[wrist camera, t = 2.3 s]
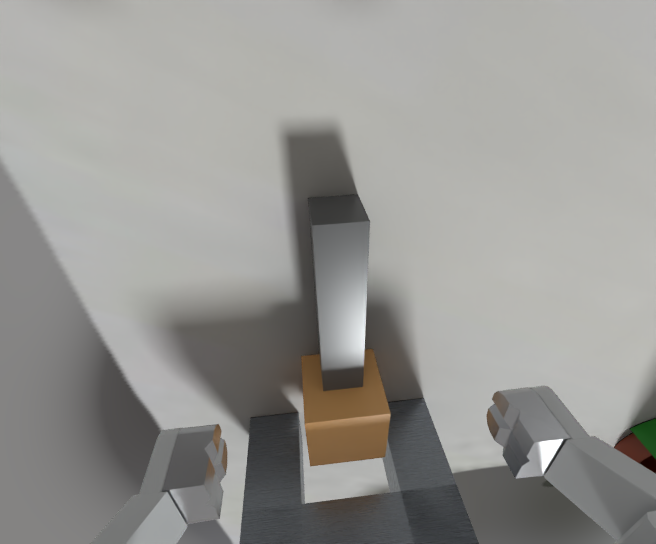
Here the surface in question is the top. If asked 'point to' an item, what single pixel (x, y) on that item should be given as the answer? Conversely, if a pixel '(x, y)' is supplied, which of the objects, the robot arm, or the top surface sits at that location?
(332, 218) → the plug
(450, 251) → the top surface
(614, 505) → the robot arm
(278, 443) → the grey u-shaped block
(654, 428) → the motor
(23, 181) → the top surface
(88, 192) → the top surface
